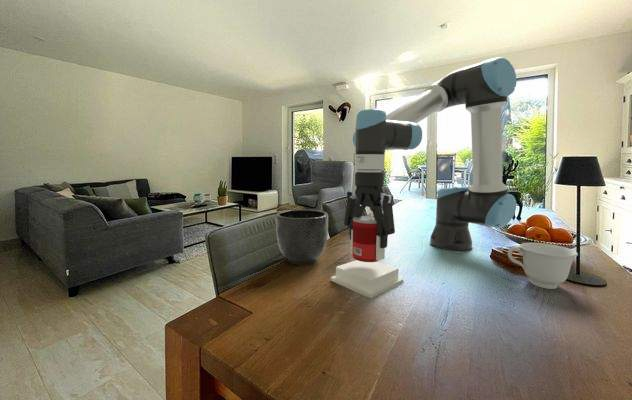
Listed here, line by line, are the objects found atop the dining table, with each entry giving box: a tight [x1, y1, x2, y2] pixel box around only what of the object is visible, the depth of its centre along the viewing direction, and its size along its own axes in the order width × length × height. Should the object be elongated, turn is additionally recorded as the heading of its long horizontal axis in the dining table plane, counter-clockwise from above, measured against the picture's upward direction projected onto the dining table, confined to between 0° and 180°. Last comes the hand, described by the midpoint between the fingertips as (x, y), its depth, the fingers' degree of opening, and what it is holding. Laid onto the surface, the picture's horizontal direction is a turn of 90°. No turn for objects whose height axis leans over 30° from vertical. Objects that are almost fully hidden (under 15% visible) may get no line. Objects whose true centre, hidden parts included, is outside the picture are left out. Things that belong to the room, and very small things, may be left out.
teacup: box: [507, 242, 579, 290], centre depth 77 cm, size 12×15×10 cm
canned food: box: [351, 215, 379, 262], centre depth 77 cm, size 8×8×11 cm
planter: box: [275, 209, 329, 266], centre depth 95 cm, size 17×17×16 cm
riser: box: [330, 259, 404, 299], centre depth 79 cm, size 14×14×4 cm
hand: (367, 255), depth 78 cm, fingers closed on canned food, 8 cm apart
